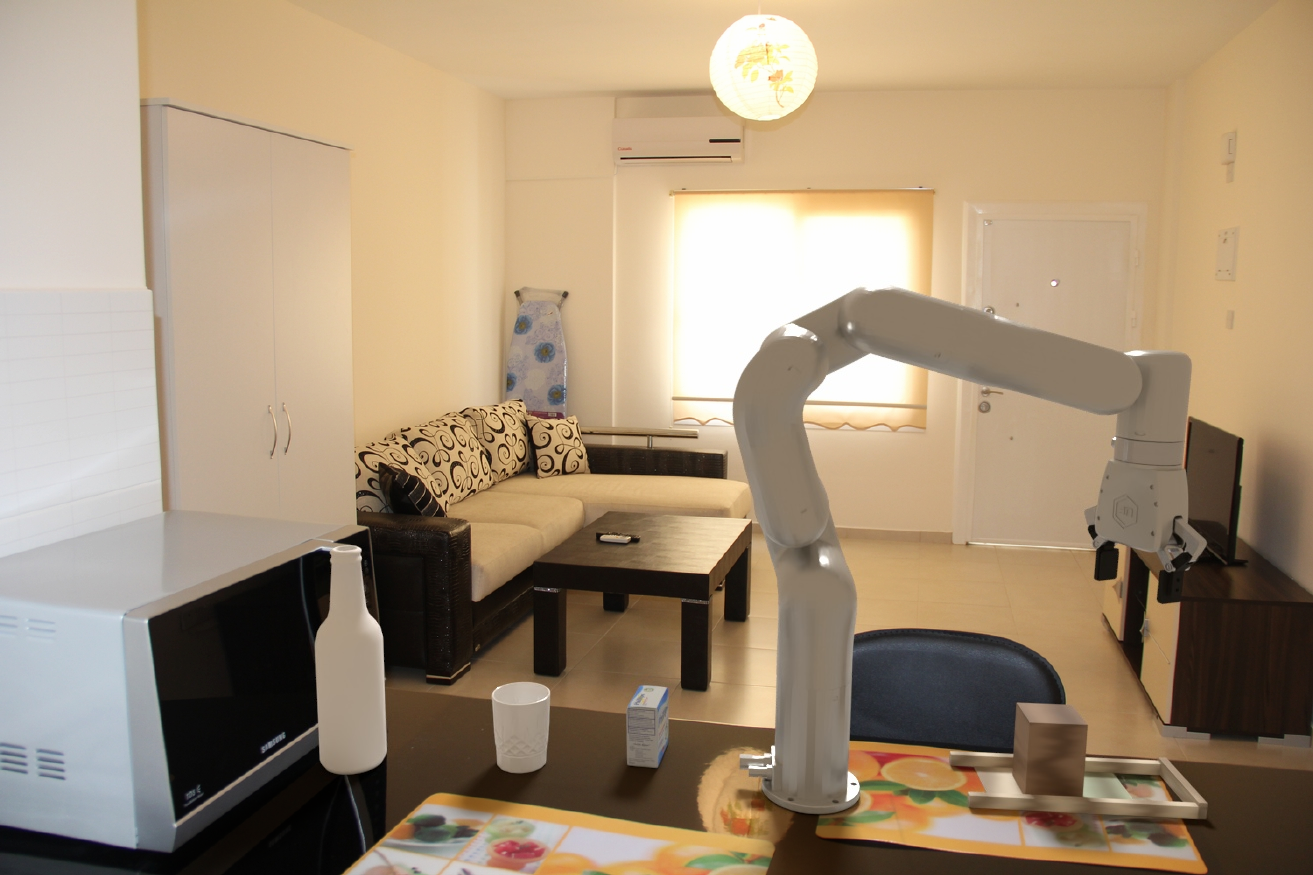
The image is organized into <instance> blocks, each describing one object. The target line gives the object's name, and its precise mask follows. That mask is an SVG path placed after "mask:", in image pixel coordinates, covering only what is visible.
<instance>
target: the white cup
mask: <svg viewBox="0 0 1313 875" xmlns="http://www.w3.org/2000/svg"><path fill="white" fill-rule="evenodd" d="M491 704H492V718H493V722H492V723H493V734H494V745H495V748H496V764H497V766H498V767H499V768H500V770H502V771H505V772H508V773H510V774H527V773H532V772H535V771H538V770H540V769H542V768H543V766H544V765H545V764H546V763H547V750H548V742H549V732H550V731H549V730H550V729H549V727H550V706H551V690H550V689H549V688H548V687H547V686H546V685H544V684H541V683H537V682H531V681H518V682H511V683H507V684H503V685H500V686H498V687H497V688H495V689H494V690H493V691H492V693H491Z"/></svg>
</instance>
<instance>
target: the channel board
mask: <svg viewBox="0 0 1313 875" xmlns="http://www.w3.org/2000/svg"><path fill="white" fill-rule="evenodd" d="M948 760H949V761H948V762H949V765H950V766H954V767H956V766H957V767H972V768H974V770H975V772H976V774H977V777H978V778H979V782H981V785H982V786H983V789H984V791H985V792H984V791H981V792H980V791H967V802H966V803H967V806H968V808H976V809H994V810H995V809H997V810H1014V811H1035V812H1036V811H1037V812H1053V813H1054V812H1055V813H1072V814H1073V813H1075V814H1096V815H1112V816H1113V815H1114V816H1115V815H1116V816H1131V817H1132V816H1134V817H1135V816H1136V817H1152V818H1153V817H1155V818H1156V817H1157V818H1174V819H1176V818H1177V819H1195V820H1207V815H1208V813H1207V812H1208V807H1209V806H1208V805H1209V804H1208V802H1207V801H1206V800H1205V798H1203V797H1202V796H1201V794H1200V793H1199V791H1197V790H1196V789H1195V787H1193V785H1191V783H1190V782H1189V781H1188V780H1187V779H1186V778H1185V777H1184V776H1183V774H1182V773H1180V771H1179V770H1178V769H1177V768H1176V767H1175V766H1174V764H1172V762H1171V761H1170V760H1169V759H1168V758H1167V757H1166V756H1165V757H1164V756H1158V757H1157V760H1155V759H1153V760H1152V759H1151V760H1150V759H1134V758H1133V759H1132V758H1131V759H1129V758H1108V757H1104V758H1103V757H1090V756H1089V757H1087V756H1086V759H1085V773H1084V786H1083V797H1069V796H1049V795H1028V794H1022V792H1021V790H1020V788H1019V786H1018V785H1017V783H1016V781H1015V779H1014V777H1013V776H1012V768H1013V753H1003V752H1002V753H999V752H997V753H996V752H979V751H978V752H977V751H976V752H975V751H974V752H973V751H959V750H958V751H957V750H956V751H954V750H950V751H949V759H948ZM1115 774H1123V775H1124V774H1127V775H1147V776H1148V775H1150V776H1160V777H1161V778H1162V779H1163V780H1164V782H1165V783H1166V785H1168V787H1169V788H1171V789H1172V791H1173V792H1174V794H1175V795H1176V796H1177V797H1178V798H1179V799H1180V800H1181V801H1172V800H1171V801H1167V800H1150V799H1149V800H1148V799H1133V797H1132V796H1131V794H1130V793H1129V792H1128V791H1127V788H1125V787H1124V785H1123V784H1122V783H1121V781H1120V780H1119V779H1118V777H1117V776H1116V775H1115Z"/></svg>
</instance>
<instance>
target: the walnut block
mask: <svg viewBox="0 0 1313 875" xmlns="http://www.w3.org/2000/svg"><path fill="white" fill-rule="evenodd" d="M1014 724H1015V725H1014V737H1013V738H1014V739H1013V753H1012V754H1013V768H1012V776H1013V777H1014V779H1015V781H1016V783H1017V785H1018V786H1019V788H1020V790H1021V792H1022V794H1028V795H1049V796H1069V797H1083V786H1084V773H1085V759H1086V757H1087V755H1086V754H1087V742H1088V733H1089V732H1088V730H1089V724H1088V723H1087V722H1086V720H1085V719H1084V718H1083V717H1082V715H1081V714H1080V713H1079V712H1078V710H1077V709H1076V708H1075V707H1074V705H1073V704H1061V703H1060V704H1058V703H1056V704H1055V703H1038V702H1036V703H1035V702H1034V703H1031V702H1016V708H1015V721H1014Z"/></svg>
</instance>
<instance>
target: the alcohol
mask: <svg viewBox="0 0 1313 875" xmlns="http://www.w3.org/2000/svg"><path fill="white" fill-rule="evenodd" d="M361 553H362V548H361V547H359V546H357V545H351V544H347V545H338V546H335V547H333V548H332V549H330V551H329V554H330V555H331V556H330V557H331V558H330V560H329V562H330V564H331V566H330V568H331V572H330V573H331V574H330V591H329V592H330V594H329V595H330V596H329V601H330V602H329V609H328V610H329V611H328V614H327V617H326V618H325V619H324V621H323V622H322V623H321V625H320V626H319V628H318V630H317V632H316V637H315V641H314V657H315V658H314V660H315V677H316V678H315V680H316V681H315V682H316V699H317V700H316V702H317V705H316V706H317V722H318V724H317V725H318V726H317V728H318V747H319V761H320V763H321V764H322V766H323V768H325V770H326V771H328V772H330V773H333V774H336V775H355V774H361V773H365V772H368V771H370V770H371V771H372V770H373V769H375V768H377V767H378V766H380V764H381V763H382V762H383V761H384V759H385V758H386V755H387V752H388V751H387V750H388V749H387V747H388V743H387V720H386V719H387V715H386V714H387V713H386V711H387V710H386V691H385V690H386V689H385V686H386V685H385V662H384V660H385V657H384V654H385V653H384V636H383V633H382V632H383V631H382V628H381V626H380V624H379V623H378V622H377V620H376V619H375V618H374V617H373V616H372V615H371V614H370V613H369V610H368V608H367V604H366V596H365V587H364V586H365V585H364V579H363V571H362V570H363V569H362V559H363V558H362V555H361Z"/></svg>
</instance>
